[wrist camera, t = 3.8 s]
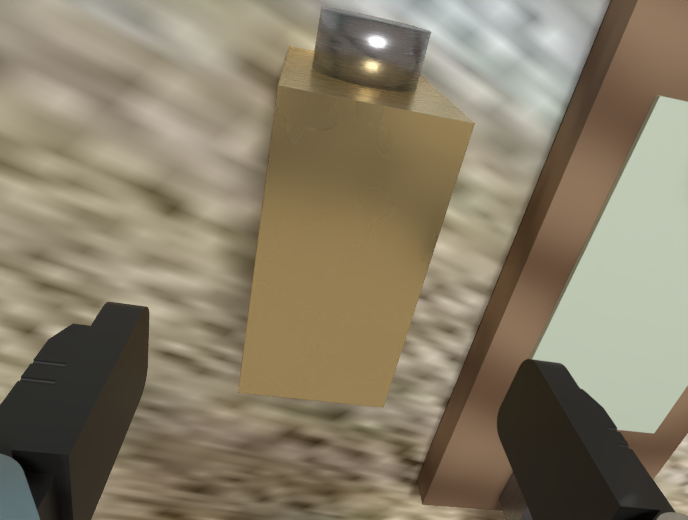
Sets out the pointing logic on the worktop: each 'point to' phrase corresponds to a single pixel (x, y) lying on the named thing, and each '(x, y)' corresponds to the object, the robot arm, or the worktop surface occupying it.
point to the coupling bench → (591, 267)
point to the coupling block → (348, 211)
